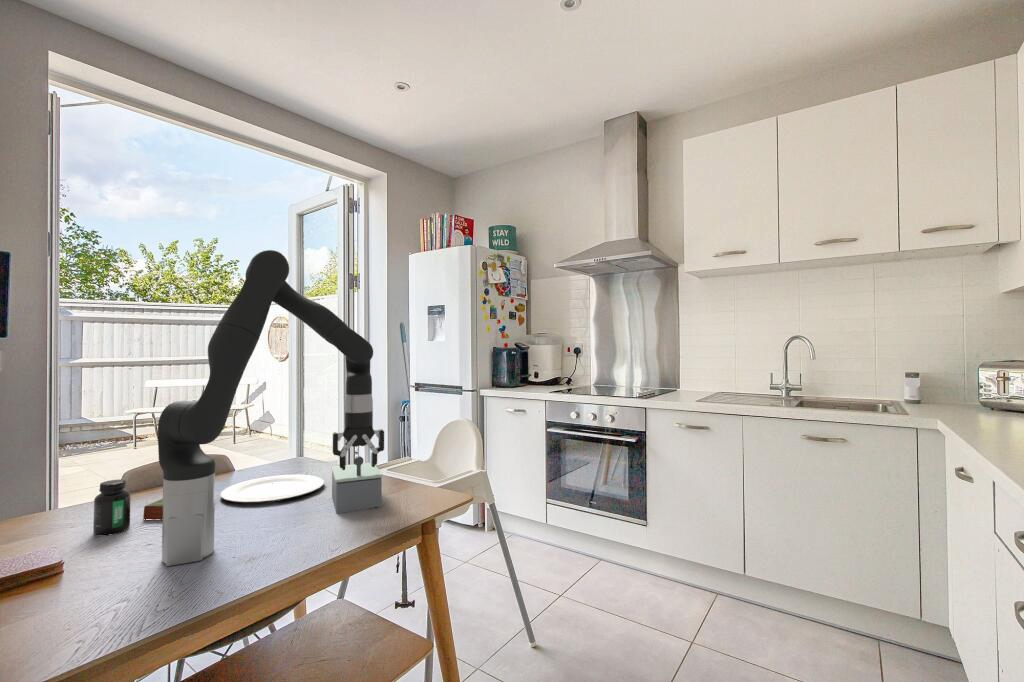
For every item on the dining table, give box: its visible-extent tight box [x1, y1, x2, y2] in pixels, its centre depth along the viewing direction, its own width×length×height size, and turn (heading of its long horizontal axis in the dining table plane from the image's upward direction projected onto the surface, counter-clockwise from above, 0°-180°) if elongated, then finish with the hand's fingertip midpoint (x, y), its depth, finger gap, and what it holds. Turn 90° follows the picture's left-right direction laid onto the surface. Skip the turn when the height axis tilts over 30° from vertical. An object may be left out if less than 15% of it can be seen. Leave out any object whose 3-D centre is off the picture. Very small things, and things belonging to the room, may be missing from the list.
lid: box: [331, 455, 383, 483], centre depth 135 cm, size 16×12×6 cm
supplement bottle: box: [92, 478, 132, 537], centre depth 113 cm, size 7×7×12 cm
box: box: [331, 471, 383, 514], centre depth 135 cm, size 16×12×8 cm
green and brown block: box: [142, 498, 163, 521], centre depth 128 cm, size 8×16×4 cm, turn 179°
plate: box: [220, 474, 325, 504], centre depth 145 cm, size 29×29×2 cm
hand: (358, 468), depth 130 cm, fingers open, 7 cm apart
